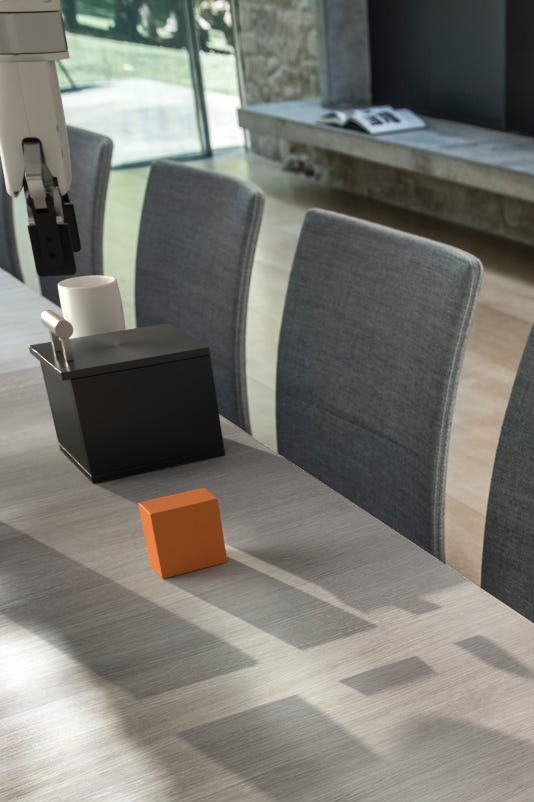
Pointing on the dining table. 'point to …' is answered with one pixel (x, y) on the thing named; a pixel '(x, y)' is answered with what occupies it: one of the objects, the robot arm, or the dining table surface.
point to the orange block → (183, 532)
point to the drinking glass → (92, 305)
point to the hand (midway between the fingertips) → (60, 263)
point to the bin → (137, 418)
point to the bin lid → (111, 348)
